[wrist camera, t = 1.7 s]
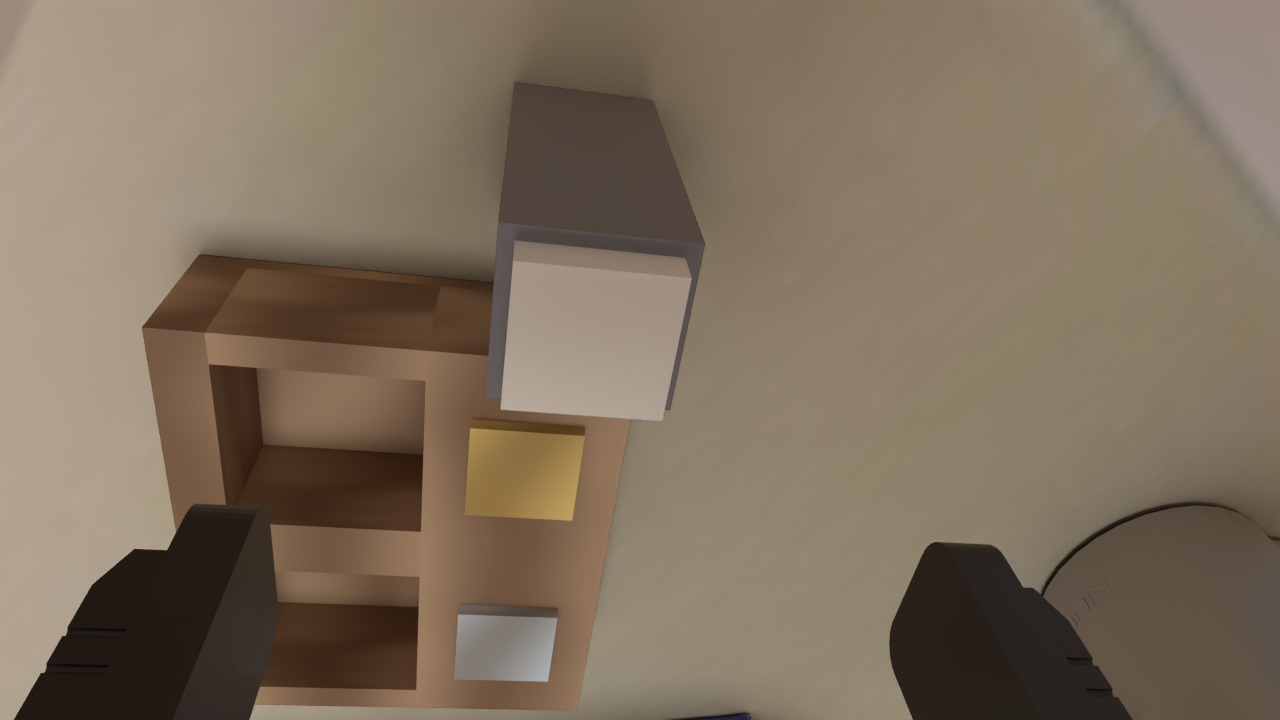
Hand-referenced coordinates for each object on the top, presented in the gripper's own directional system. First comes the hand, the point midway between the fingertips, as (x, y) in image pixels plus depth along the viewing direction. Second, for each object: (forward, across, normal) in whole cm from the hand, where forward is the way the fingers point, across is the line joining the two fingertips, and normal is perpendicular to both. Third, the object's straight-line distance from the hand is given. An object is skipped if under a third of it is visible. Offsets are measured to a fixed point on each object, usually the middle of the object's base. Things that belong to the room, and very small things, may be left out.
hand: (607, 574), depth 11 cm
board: (+15, +4, +11) cm, 19 cm away
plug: (+15, 0, 0) cm, 15 cm away
